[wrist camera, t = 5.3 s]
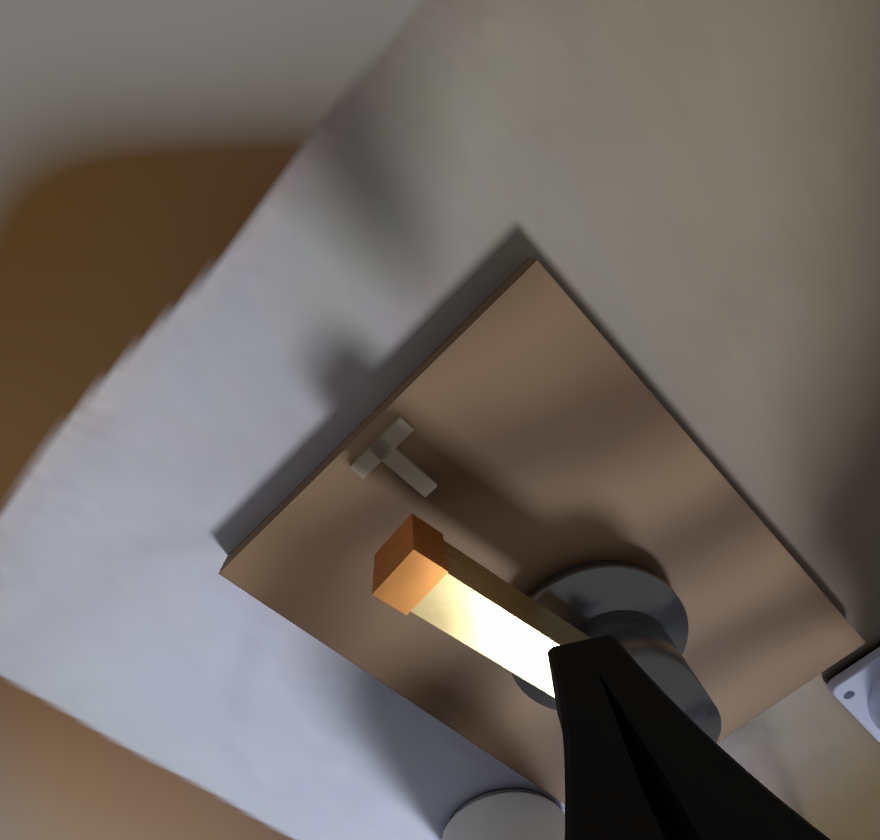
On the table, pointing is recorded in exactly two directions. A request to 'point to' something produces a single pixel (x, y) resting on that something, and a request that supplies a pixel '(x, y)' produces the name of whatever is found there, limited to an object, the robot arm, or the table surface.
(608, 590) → the lever door handle
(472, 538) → the stand
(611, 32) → the table surface
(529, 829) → the can
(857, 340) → the table surface
